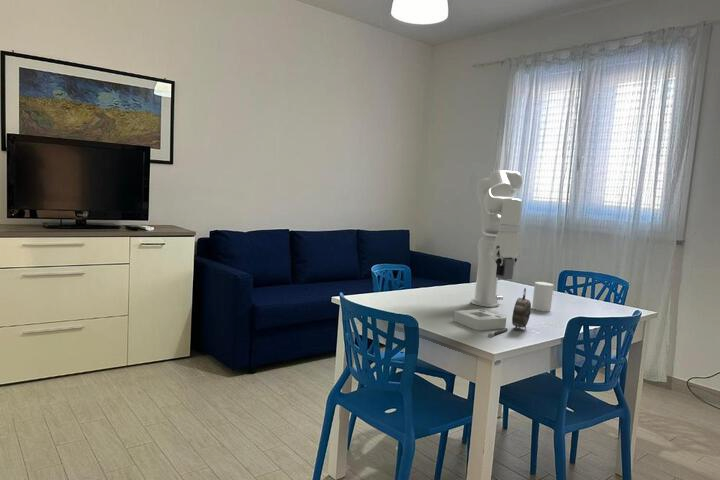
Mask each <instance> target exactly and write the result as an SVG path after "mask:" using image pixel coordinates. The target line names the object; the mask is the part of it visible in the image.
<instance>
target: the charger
mask: <svg viewBox="0 0 720 480" xmlns="http://www.w3.org/2000/svg"><path fill="white" fill-rule="evenodd" d="M500 261H501V259H500ZM503 266H504V271H503V276H500V275H497V274H496V277H497V278H498V279H501V280H513V276H514V275H513V274H514V266H515V265H514V259H510V258H505V259H504V263H503Z"/></svg>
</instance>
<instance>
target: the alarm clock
mask: <svg viewBox="0 0 720 480" xmlns="http://www.w3.org/2000/svg"><path fill="white" fill-rule="evenodd" d="M526 292H527V288H526V287H524V288H523V293H524V294H523V295H522V297H518V298H517V300H516V301H515V304H514V307H513V312H512V319H511V323H512V325H513V327H514V326H515V327H514V332H516V331H517V329H518V328H524V329H525V330H527V328H526V327H527V325H528V323H529V319H530V316H531V314H532V312H531V310H532V303H531V300H529V299H527V298H526Z"/></svg>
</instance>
